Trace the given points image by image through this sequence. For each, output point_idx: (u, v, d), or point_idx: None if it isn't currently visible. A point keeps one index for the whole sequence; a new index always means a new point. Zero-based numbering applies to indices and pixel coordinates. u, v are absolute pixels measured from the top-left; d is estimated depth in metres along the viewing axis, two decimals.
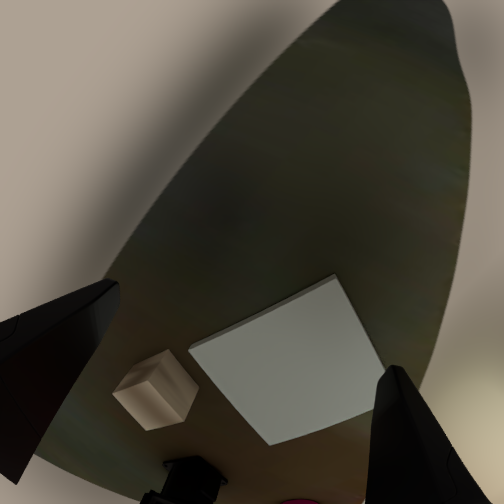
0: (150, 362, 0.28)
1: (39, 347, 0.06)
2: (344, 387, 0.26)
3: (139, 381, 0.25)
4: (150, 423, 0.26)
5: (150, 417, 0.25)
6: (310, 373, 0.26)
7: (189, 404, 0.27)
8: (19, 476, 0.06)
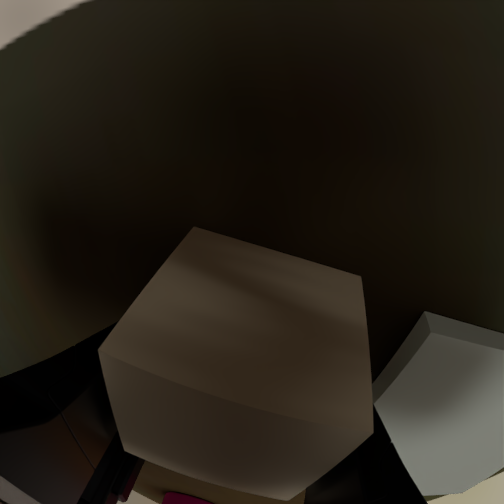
0: (298, 286, 0.08)
1: (103, 382, 0.06)
2: (463, 472, 0.13)
3: (309, 401, 0.05)
4: (164, 459, 0.07)
5: (187, 461, 0.07)
6: (475, 450, 0.11)
7: None
8: None
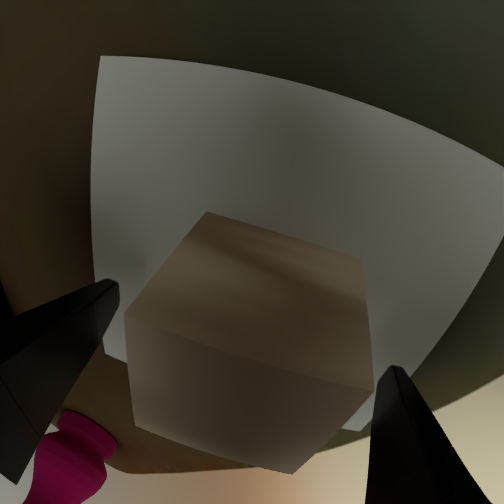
0: (303, 265, 0.09)
1: (39, 347, 0.06)
2: None
3: (316, 361, 0.06)
4: (174, 431, 0.08)
5: (197, 431, 0.08)
6: None
7: None
8: (19, 476, 0.06)
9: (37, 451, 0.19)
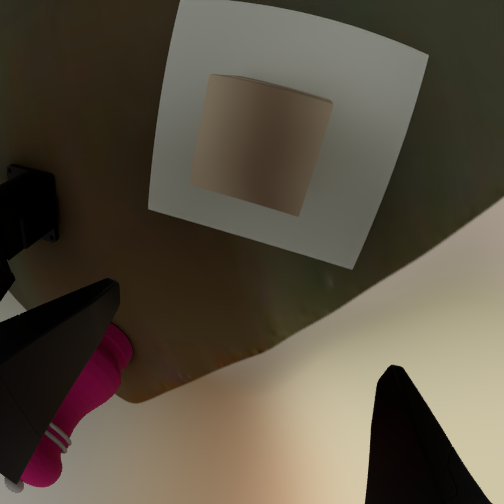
0: (295, 90, 0.14)
1: (39, 347, 0.06)
2: (315, 192, 0.18)
3: (302, 94, 0.12)
4: (219, 177, 0.14)
5: (236, 167, 0.13)
6: None
7: None
8: (19, 476, 0.06)
9: None
